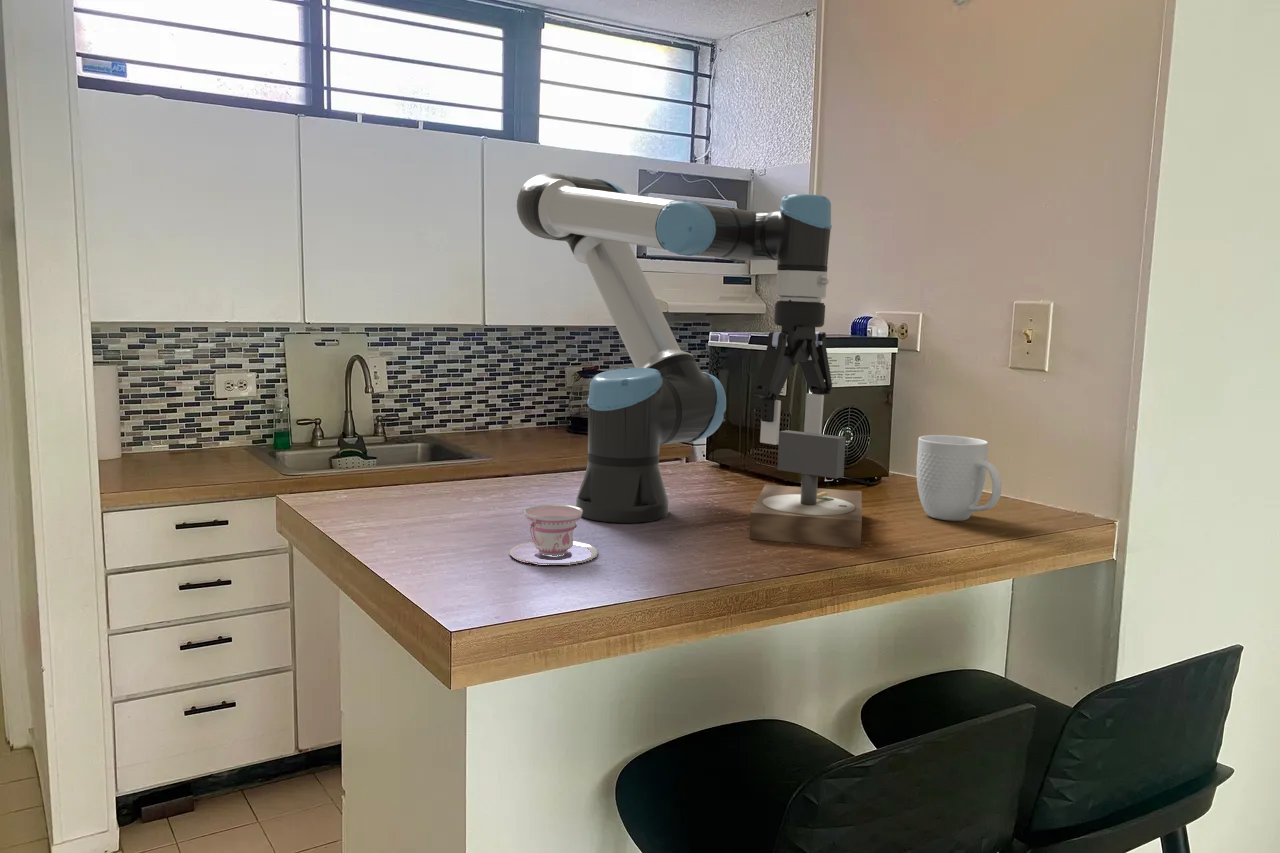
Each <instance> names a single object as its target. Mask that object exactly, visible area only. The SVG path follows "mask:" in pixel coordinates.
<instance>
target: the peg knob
mask: <svg viewBox="0 0 1280 853" xmlns="http://www.w3.org/2000/svg"><path fill="white" fill-rule="evenodd" d="M846 438H847V437H846V436H840V435H839V436H838V435H831V434H830V435H829V434H823V433H821V434H815V433H807V432H804V431H797V430H796V431H795V430H788V429H786V430H781V431H780V430H779V442H778V444H777V445H778V449H777V466H776V467H777V468H776V469H777V471H782V472H788V473H789V472H791V473H796V474H801V483H800V487H801V502H800V503H801V504H805V505H815V504H816V500H817V498H820V497H823V496H826V495H827V492H821V493H818V494H817V488H818V481H819V480H818V478H819V477H822V478H823V477H824V478H830V479H840V478H844V476H845V475H844V473H845V459H846V458H845V456H846V455H845V454H846V441H847V440H846Z"/></svg>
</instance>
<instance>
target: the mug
mask: <svg viewBox="0 0 1280 853" xmlns="http://www.w3.org/2000/svg"><path fill="white" fill-rule="evenodd" d="M988 447H989V442H988V441H987V440H984V439H982V438H981V439H980V438H976V437H968V436H960V435H950V434H949V435H946V434H930V435H929V434H928V435H922V436H919V437H918V440H917V453H916V471H915V472H916V485H917V486H916V487H917V492H918V497H919V500H920V503H921V505H922V506H921V507H922V509H923V511H924V512H925V513H926V515H927V516H928V517H930V518H933V519H937V520H942V521H953V522H957V521H958V522H959V521H966V520H968V519H970V517H971V516H972V515H973V513H975V512H984V511H988V510H990V509H992V508H993V507H995V506H996V505H997V504H998V502H999V500H1000V497H1001V494H1002V479H1001V475H1000V472H999V469H998V468H997V467H996V466H995V464H993V463H992V462H990V461H988V454H989V452H988V450H989V448H988ZM987 472H988V474H989V475H990V479H991V484H992V491H991V496H990V499H989V500H988V502H987V503H986V504H982V505H978V504H980V500H981V498H982V494H983V490H984V489H985V488H984V487H985V482H986V478H987V477H986V476H987V475H986V474H987Z"/></svg>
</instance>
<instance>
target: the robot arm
mask: <svg viewBox="0 0 1280 853" xmlns="http://www.w3.org/2000/svg"><path fill="white" fill-rule="evenodd" d="M780 201H781V202H780V206H779V209H778V210H777V209H776V210H758V211H757V210H745V209H739V208H734V207H733V208H732V207H726V206H725V207H724V206H718V205H717V206H716V205H711V204H705V203H699V202H697V201H691V200H680V201H679V200H675V199H666V198H660V197H651V196H646V195H644V196H643V195H636V194H629V193H627V192H626V191H625V190H624V189H623V188H622V187H620V186H619V185H618V184H615V183H613V182H608V181H607V180H603V179H598V178H593V179H591V178H590V179H589V178H586V177H585V178H584V177H577V176H573V175H565V174H562V173H556V172H555V173H554V172H545V173H540V174H537V175H535V176H533V177H531V178H529V179H528V180H527V181H526V182H525V183H524V184H523V185H522V187H521V188H520V189H519V192H518V195H517V199H516V211H517V215H518V218H519V219H518V220H520V223H521V225H523V227H524V228H525V229H526V230H527V231H528V232H530V233H531V234H532V235H534V236H536V237H539V238H542V239H544V240H552V241H558V242H559V241H561V242H562V241H563V242H567V244H568V246H569V248H570V250H571V252H572V254H573V257H574V259H575V260H576V261H577V262H578V263H581V264H586V265H587V267H588V269H589V271H590V274H591V276H592V277H593V280H594V282H595V284H596V287H597V288H598V290H599V292H600V295H601V297H602V299H603V301H604V302H603V303H604V304H605V306H606V307H607V310H608V312H609V314H610V317H611V319H612V321H613V324H614V326H615V328H616V330H617V332H618V333H619V335H620V337H621V341H622V342H623V344H624V347H625V348H626V351H627V353H628V355H629V358H630V359H631V360H630V361H631V362H632V364H633V366H634V367H628V368H616V369H611V370H606V371H602V372H600V373H597V374H595V375H594V376H593V377H592V378H591V380H590V382H589V391H588V392H589V393H588V398H587V403H586V404H587V465H586V470H585V472H584V475H583V478H582V481H581V484H580V487H579V490H578V493H577V496H576V500H575V501H576V503H575V506H577V507H579V508H581V509H582V510H583V513H582V517H581V518H585V519H589V520H593V521H598V522H606V523H622V524H623V523H624V524H625V523H627V524H628V523H629V524H631V523H634V524H635V523H647V522H652V521H657V520H661V519H663V518H665V517H667V516H668V515H669V498H668V493H667V491H666V486H665V483H664V481H663V478H662V474H661V470H660V446H661V445H662V446H664V445H670V444H677V443H692V442H696V441H699V440H701V439H702V440H703V439H707V438H708V437H710V436H711V435H713V434H714V433H716V431H717V430H718V429H719V428H720V427H721V425H722V423H723V421H724V418H725V416H724V414H725V412H726V410H727V396H726V391H725V389H724V386H723V384H722V383H721V381H720V379H718V378H717V377H716V376H715V375H712V374H710V373H708V372H704V371H701V368H700V367H699V364H698V363H697V361H696V359H695V357H694V355H693V354H692V353H690V352H687V351H685V350H681V348H680V346H679V344H678V341H677V340H676V338H675V336H674V334H673V331H672V329H671V327H670V325H669V323H668V321H667V319H666V318H665V315H664V313H663V311H662V308H661V306H660V304H659V302H658V301H657V299H656V296H655V295H654V292H653V291H652V288H651V286H650V284H649V282H648V279H647V278H646V276H645V274H644V271H643V270H642V267H641V266H640V263H639V261H638V259H637V257H636V255H635V253H634V250H633V249H632V247H631V245H636V246H640V247H641V246H642V247H648V248H652V249H659V250H664V251H668V252H669V253H673V254H676V255H679V256H688V257H693V256H695V257H696V256H698V257H712V258H713V257H714V258H720V259H721V260H722V259H723V260H727V261H735V262H744V261H777V268H776V269H777V271H776V283H775V296H776V297H777V298H778V300H777V301H776V302H775V303H774V317H773V318H774V319H773V322H774V324H775V325H776V326H780V327H781V330H780V332H775V331H770V332H769V333H768V337H767V343H766V344H767V347H766V350H765V353H764V355H763V358H762V361H761V366H760V369H759V371H758V372H759V373H758V376H757V379H756V382H755V385H754V388H753V395H754V396H755V399H757V400H761V402H762V403H761V415H760V416H761V417H760V418H761V419H760V435H759V442H760V443H762V444H769V445H773V446H774V445H775V446H776V445H778V444H779V431H780V422H781V406H782V401H781V400H778V399H779V396H780V394H781V393H782V390H783V388H784V386H785V384H786V381H787V379H788V377H789V375H790V373H791V370H792V368H793V367H794V366H796V365H797V364H798V363H799V365H800V367H801V370H802V374H803V376H804V378H805V382H806V384H807V387H808V391H809V392H810V393H809V392H807V393H805V394H806V396H805V411H804V425H803V426H804V427H803V432H807V433H815V434H822V429H823V417H824V416H823V415H824V414H823V413H824V401H825V395H831V392H832V387H833V382H832V376H831V368H830V363H829V357H828V351H827V333H826V331H825V332H824V331H816V328H822V327H823V326H824V325H825V318H826V317H825V316H826V305H825V303H824V302H822V300H823V299H825V298H826V297H827V296H826V295H827V285H828V284H829V279H828V264H829V262H828V261H829V249H830V242H831V241H830V240H831V230H832V228H833V227H832V202H831V200H830V199H829V198H828V197H827V196H824V195H819V194H810V193H809V194H805V193H798V194H797V193H795V194H789V195H785V196H783V197H782V198H781V200H780Z"/></svg>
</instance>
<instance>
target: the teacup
mask: <svg viewBox="0 0 1280 853" xmlns="http://www.w3.org/2000/svg"><path fill="white" fill-rule="evenodd" d="M523 513H524V517H525V518H526V520H527V521H529V522H530V524H529V525H530V530H529V531H530V536H531V539H532V540H533V541H528V542H523V543H520V544H517V545H515V546H514V547H511V548H510V550H509V552H510V554H509V556H510V555H511V556H513V553H512V551H513V550H514V548H517V547H519V546H522V545H526V544H530V543H531V544H532V543H533V546H534V547H535V548H536V549H538V550H539V551H540V552H539V554H541V553H542V554H544V555H552V556H557V555H558V556H559V555H563V554H565V555H566V554H567V550H568V549H570V548H571V547H572V546H573V545H576V546H581V547H585V548H587V549H588V550H590V552H591V553H592V554H591V557H589V558H587V559H585V560H582V561H576V562H570V563H538V562H530V561H526V560H522V559H519V558H517V557H515V556H513V557H514V558H516V559H518V560H521V561H525V562H528V563H537V564H547V565H548V564H549V565H569V564H576V563H582V562H585V563H587V562H586V561H588V562H590V561H589V560H591V561H593V560H594V559H593V558H595V557H596V558H597V557H598V555H599V551H598V550H597V548H596V547H594V546H592V545H590V544H588V543H584V542H581V541H575V540H574V530H575V529H576V528H577V527H578V526H577V523H578V521H579V520H580V519H582V518H583V517H582V513H583V510H582V509H581V508H579V507H577V506H576V505H570V504H563V503H562V504H561V503H559V504H557V503H552V504H541V505H534V506H531V507H528V508H526V509H525V510H523ZM597 554H598V555H597ZM596 558H595V559H596ZM592 559H593V560H592ZM582 564H583V563H582ZM576 565H577V564H576ZM569 566H570V565H569Z"/></svg>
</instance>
